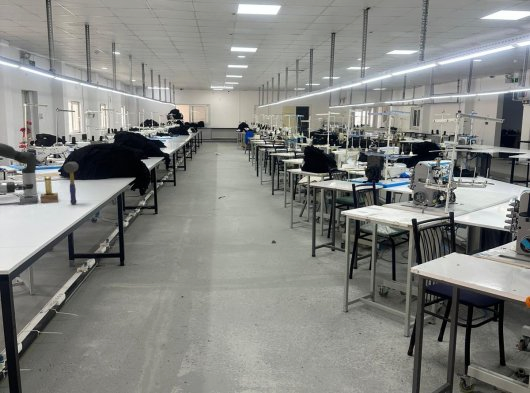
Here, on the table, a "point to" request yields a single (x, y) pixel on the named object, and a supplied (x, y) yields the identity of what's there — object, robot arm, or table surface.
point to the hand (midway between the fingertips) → (33, 186)
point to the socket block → (29, 199)
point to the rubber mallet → (71, 179)
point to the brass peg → (48, 185)
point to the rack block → (49, 198)
